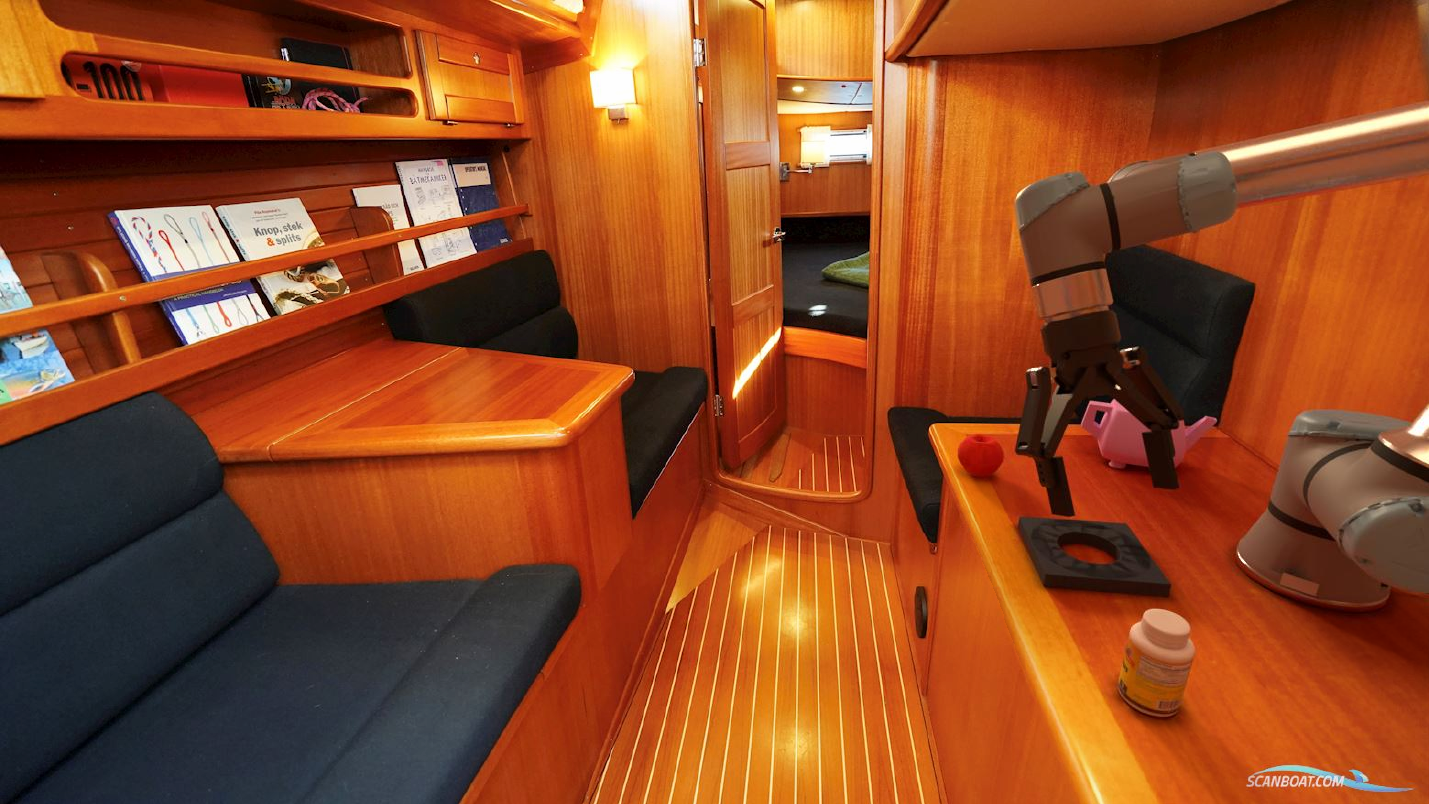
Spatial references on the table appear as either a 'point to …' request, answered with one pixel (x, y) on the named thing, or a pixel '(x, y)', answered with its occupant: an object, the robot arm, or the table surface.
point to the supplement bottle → (1157, 663)
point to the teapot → (1135, 434)
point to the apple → (980, 455)
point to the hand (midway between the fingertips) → (1115, 501)
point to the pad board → (1065, 571)
